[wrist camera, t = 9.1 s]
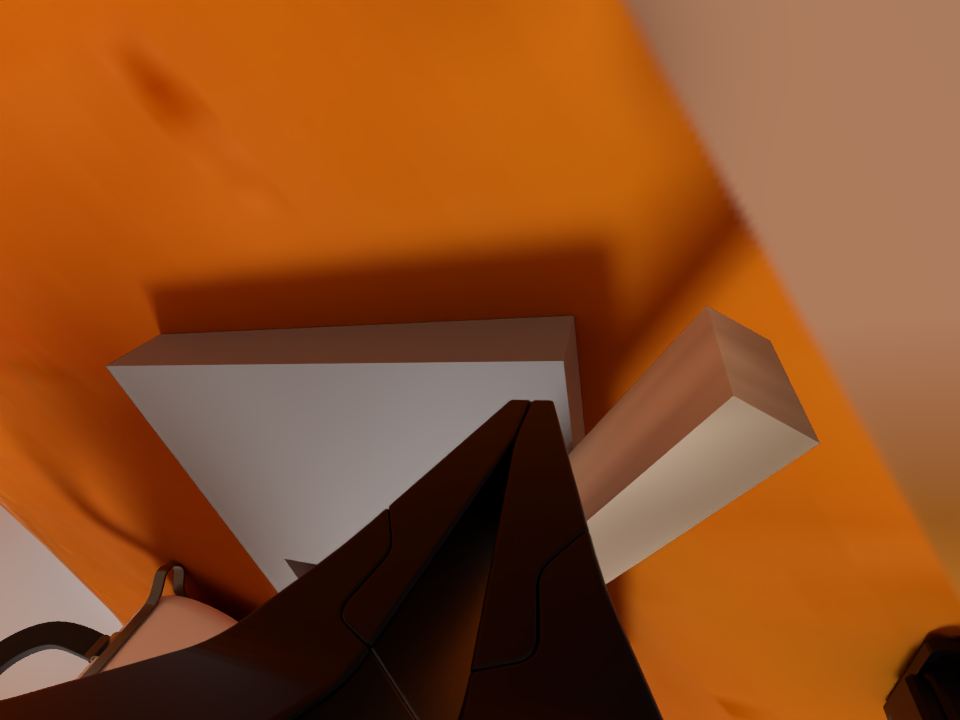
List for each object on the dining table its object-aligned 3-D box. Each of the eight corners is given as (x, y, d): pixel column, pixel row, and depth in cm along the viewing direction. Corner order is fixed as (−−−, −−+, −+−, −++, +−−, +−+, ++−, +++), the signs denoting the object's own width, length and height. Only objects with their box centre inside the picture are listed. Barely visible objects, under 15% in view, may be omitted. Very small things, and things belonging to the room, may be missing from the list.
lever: (780, 346, 9) (850, 481, 6) (420, 660, 24) (391, 742, 21) (696, 300, 9) (725, 413, 6) (388, 642, 24) (354, 723, 21)
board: (573, 315, 13) (563, 361, 11) (606, 656, 24) (603, 710, 22) (159, 334, 19) (105, 366, 17) (333, 599, 30) (312, 638, 28)
